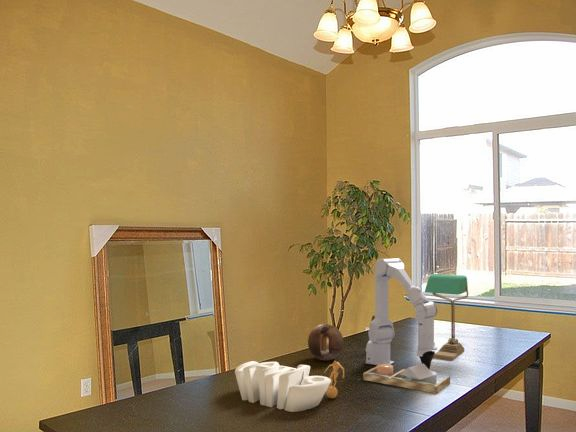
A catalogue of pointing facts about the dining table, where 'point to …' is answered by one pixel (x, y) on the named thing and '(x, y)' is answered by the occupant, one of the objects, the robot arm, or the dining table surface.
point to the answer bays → (405, 381)
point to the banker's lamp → (456, 287)
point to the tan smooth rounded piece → (385, 369)
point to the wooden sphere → (325, 342)
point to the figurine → (331, 390)
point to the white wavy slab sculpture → (280, 385)
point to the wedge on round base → (420, 374)
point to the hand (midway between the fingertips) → (425, 370)
